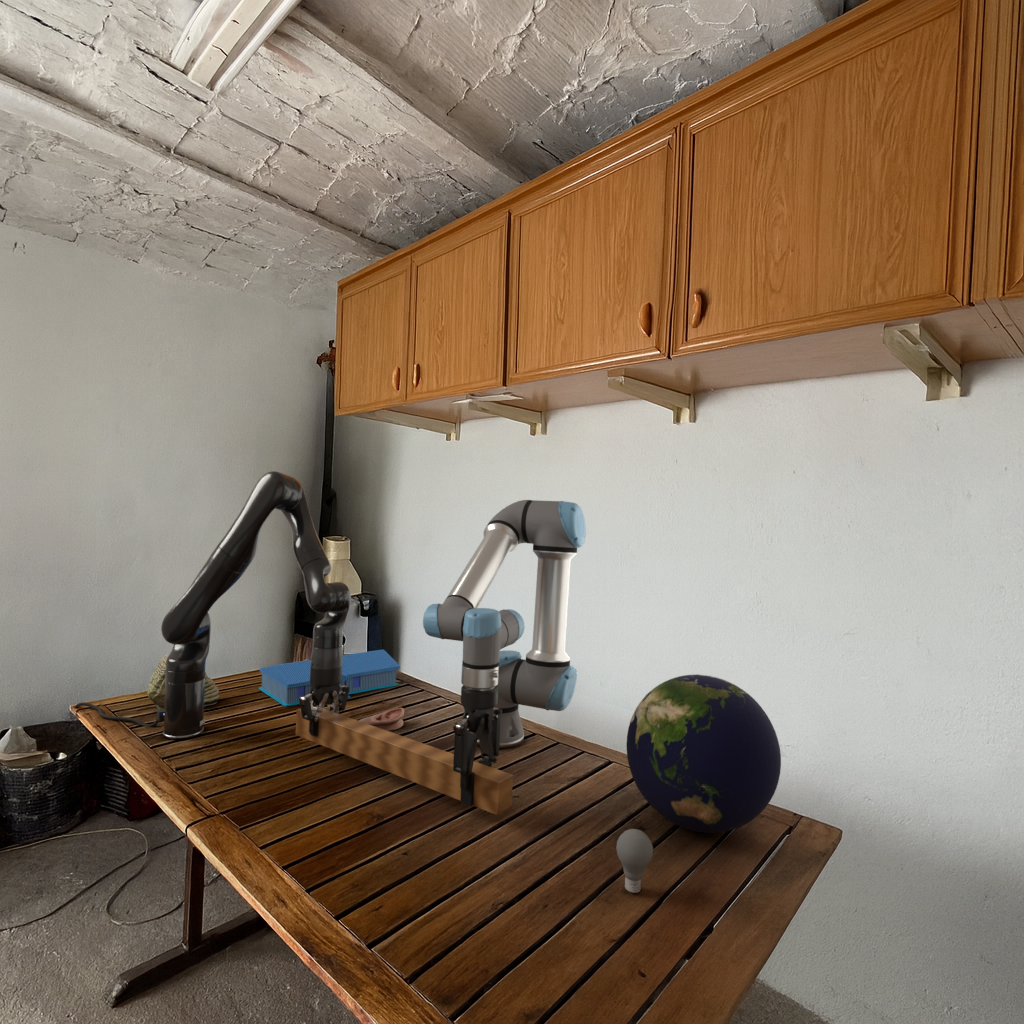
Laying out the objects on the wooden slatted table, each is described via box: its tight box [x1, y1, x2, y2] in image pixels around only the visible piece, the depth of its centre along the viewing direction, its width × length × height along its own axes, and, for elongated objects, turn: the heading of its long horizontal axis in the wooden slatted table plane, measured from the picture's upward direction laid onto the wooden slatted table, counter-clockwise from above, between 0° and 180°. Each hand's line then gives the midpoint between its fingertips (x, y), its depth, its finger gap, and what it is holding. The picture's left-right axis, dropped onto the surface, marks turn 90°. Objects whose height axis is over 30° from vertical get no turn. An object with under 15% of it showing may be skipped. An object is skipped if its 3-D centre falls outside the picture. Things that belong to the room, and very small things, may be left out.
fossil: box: [147, 654, 221, 711], centre depth 185 cm, size 9×18×15 cm, turn 132°
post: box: [295, 705, 514, 816], centre depth 143 cm, size 62×5×6 cm, turn 56°
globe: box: [626, 673, 782, 834], centre depth 129 cm, size 30×30×30 cm
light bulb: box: [615, 828, 654, 894], centre depth 106 cm, size 6×6×10 cm
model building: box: [258, 649, 401, 707], centre depth 208 cm, size 39×24×10 cm, turn 132°
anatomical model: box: [358, 707, 405, 732], centre depth 176 cm, size 13×4×12 cm
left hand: (323, 732), depth 156 cm, fingers closed on post, 5 cm apart
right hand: (475, 797), depth 130 cm, fingers closed on post, 5 cm apart
